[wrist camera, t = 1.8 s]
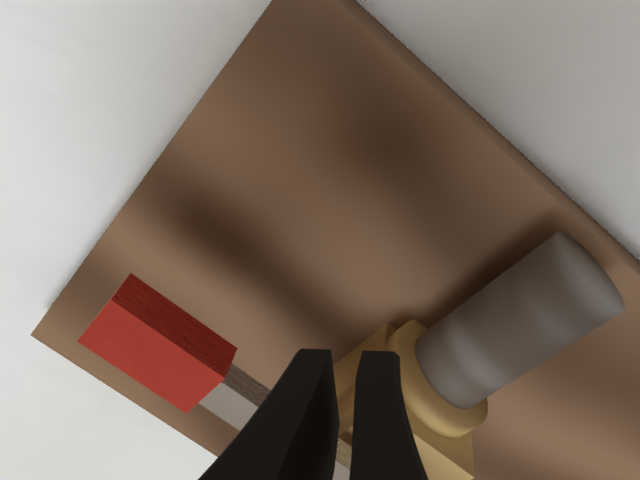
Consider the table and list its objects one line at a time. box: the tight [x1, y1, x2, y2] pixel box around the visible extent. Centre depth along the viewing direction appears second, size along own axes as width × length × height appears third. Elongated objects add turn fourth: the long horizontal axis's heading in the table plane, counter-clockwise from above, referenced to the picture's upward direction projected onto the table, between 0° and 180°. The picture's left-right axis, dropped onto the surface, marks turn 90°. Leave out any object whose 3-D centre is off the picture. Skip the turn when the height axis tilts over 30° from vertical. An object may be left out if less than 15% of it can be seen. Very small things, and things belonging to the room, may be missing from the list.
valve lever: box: [77, 273, 352, 480], centre depth 17 cm, size 2×11×1 cm, turn 51°
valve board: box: [31, 0, 640, 480], centre depth 21 cm, size 18×23×6 cm
